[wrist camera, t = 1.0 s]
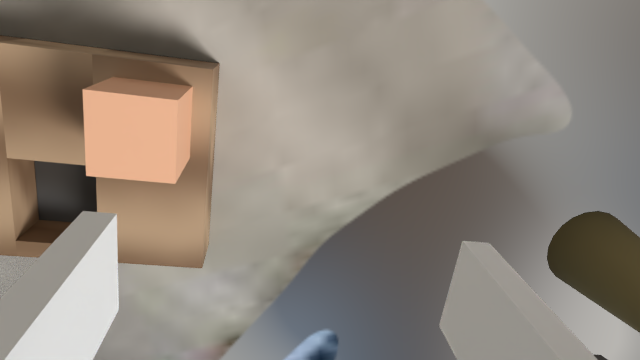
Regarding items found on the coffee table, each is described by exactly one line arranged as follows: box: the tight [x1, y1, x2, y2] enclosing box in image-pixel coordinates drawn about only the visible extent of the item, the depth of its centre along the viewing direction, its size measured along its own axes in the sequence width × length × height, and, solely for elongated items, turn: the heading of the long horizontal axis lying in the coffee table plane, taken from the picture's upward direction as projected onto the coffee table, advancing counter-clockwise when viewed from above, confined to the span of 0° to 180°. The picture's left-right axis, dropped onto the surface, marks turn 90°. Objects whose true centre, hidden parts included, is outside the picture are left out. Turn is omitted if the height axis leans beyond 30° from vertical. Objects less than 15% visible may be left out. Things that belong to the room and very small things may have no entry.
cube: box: [83, 77, 193, 184], centre depth 22 cm, size 4×4×4 cm
